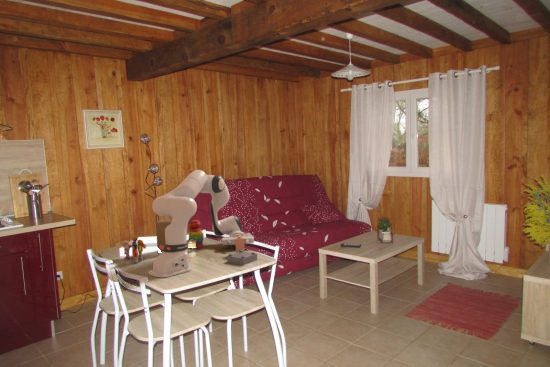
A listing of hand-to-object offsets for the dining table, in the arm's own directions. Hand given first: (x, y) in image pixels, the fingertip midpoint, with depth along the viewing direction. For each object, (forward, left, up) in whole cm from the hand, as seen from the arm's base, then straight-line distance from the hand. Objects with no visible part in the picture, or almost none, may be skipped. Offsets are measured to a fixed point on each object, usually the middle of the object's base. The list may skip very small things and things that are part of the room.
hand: (238, 243), depth 242 cm
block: (-23, +39, -5) cm, 45 cm away
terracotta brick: (-4, -4, -5) cm, 8 cm away
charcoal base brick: (-14, -14, -6) cm, 21 cm away
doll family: (-44, +41, -6) cm, 61 cm away
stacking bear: (-5, +33, -5) cm, 33 cm away
